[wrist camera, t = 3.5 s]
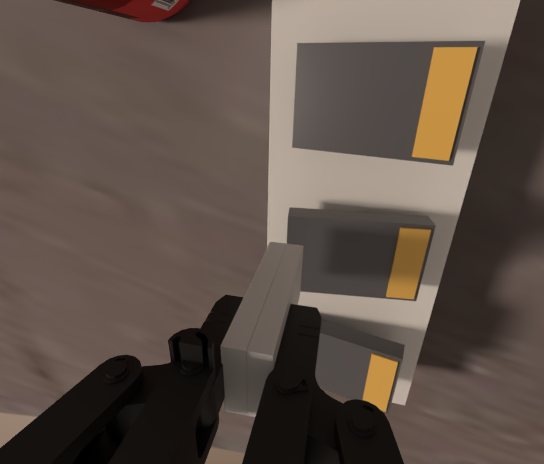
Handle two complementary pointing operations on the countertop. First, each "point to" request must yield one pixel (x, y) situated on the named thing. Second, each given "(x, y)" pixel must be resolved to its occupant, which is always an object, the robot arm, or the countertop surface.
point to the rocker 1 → (384, 98)
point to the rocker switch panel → (374, 170)
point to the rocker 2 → (358, 364)
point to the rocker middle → (361, 252)
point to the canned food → (133, 8)
